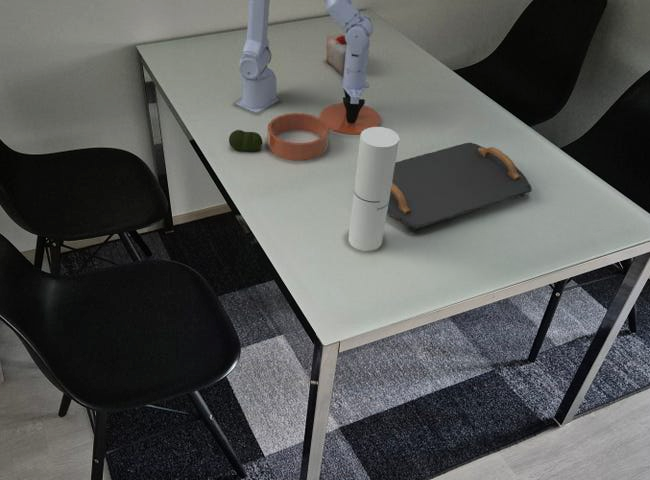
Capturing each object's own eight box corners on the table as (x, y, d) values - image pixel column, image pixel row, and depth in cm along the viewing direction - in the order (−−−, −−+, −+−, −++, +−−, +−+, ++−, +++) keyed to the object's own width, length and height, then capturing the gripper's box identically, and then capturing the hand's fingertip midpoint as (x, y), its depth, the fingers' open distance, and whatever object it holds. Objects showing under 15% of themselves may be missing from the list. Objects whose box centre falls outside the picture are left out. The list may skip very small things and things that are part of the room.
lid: (342, 100, 180) (344, 83, 177) (391, 119, 173) (394, 102, 170) (307, 122, 171) (308, 104, 167) (357, 143, 164) (360, 125, 160)
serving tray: (477, 148, 163) (482, 126, 159) (541, 197, 148) (549, 174, 144) (347, 184, 150) (349, 162, 146) (403, 242, 135) (407, 219, 131)
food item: (321, 60, 199) (323, 29, 192) (344, 56, 201) (347, 25, 194) (341, 79, 190) (344, 47, 183) (364, 75, 192) (368, 43, 185)
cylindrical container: (346, 229, 138) (357, 127, 121) (378, 228, 138) (394, 126, 121) (351, 251, 132) (364, 147, 115) (385, 250, 133) (402, 146, 116)
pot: (292, 123, 170) (293, 107, 167) (339, 143, 163) (341, 126, 160) (255, 146, 161) (255, 129, 158) (302, 169, 154) (303, 151, 151)
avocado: (228, 154, 159) (227, 137, 155) (230, 141, 162) (229, 125, 158) (261, 155, 159) (261, 139, 155) (263, 143, 162) (262, 126, 158)
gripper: (373, 81, 156) (367, 130, 165) (369, 55, 167) (364, 103, 176) (344, 79, 156) (339, 129, 165) (342, 54, 167) (338, 101, 176)
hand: (350, 115), depth 171 cm, fingers open, 7 cm apart
